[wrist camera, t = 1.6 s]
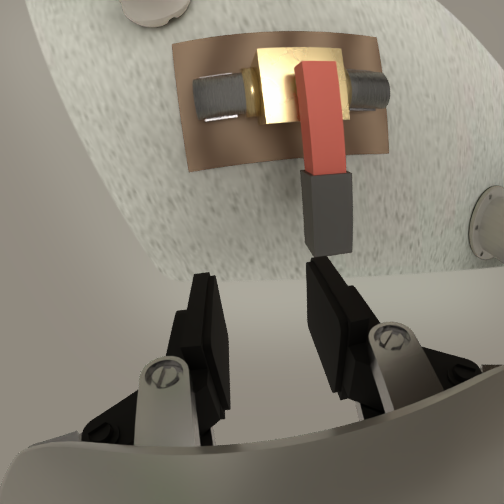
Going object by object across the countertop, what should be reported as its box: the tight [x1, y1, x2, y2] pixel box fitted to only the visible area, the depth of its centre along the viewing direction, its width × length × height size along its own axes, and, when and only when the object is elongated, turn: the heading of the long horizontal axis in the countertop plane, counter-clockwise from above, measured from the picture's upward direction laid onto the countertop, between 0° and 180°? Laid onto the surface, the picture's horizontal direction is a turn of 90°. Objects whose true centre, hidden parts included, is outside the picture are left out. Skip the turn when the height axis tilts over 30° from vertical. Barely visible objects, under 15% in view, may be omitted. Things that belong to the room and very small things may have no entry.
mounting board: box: [172, 31, 389, 172], centre depth 27 cm, size 22×14×2 cm, turn 97°
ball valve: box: [193, 47, 390, 125], centre depth 23 cm, size 18×6×6 cm, turn 97°
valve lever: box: [294, 61, 353, 257], centre depth 20 cm, size 3×14×4 cm, turn 7°
